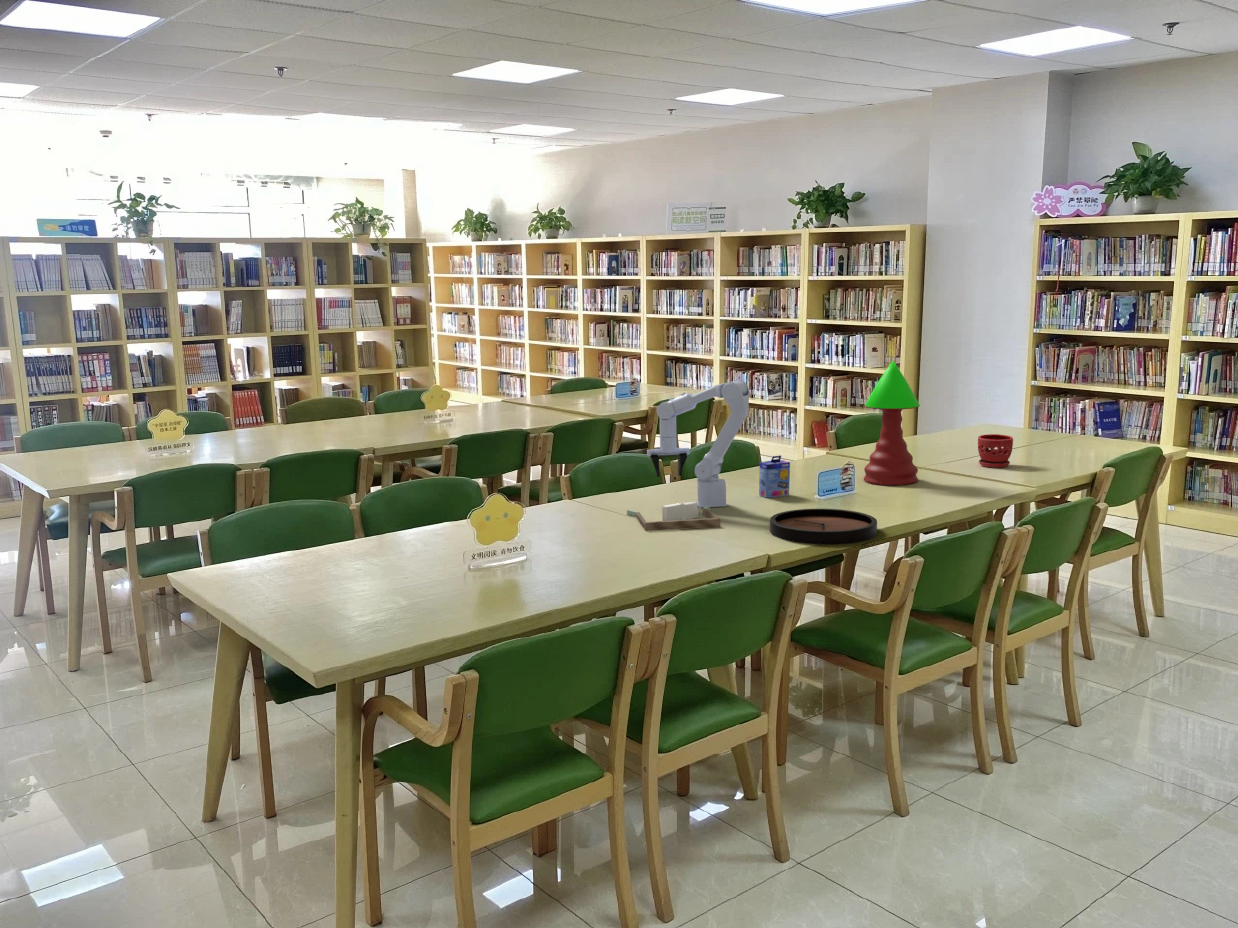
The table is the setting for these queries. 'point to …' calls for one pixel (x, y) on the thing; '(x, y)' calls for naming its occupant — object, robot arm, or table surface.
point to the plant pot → (995, 450)
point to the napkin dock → (678, 522)
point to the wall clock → (823, 526)
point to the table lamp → (891, 431)
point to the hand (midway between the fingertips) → (668, 475)
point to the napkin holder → (679, 511)
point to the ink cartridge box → (774, 478)
